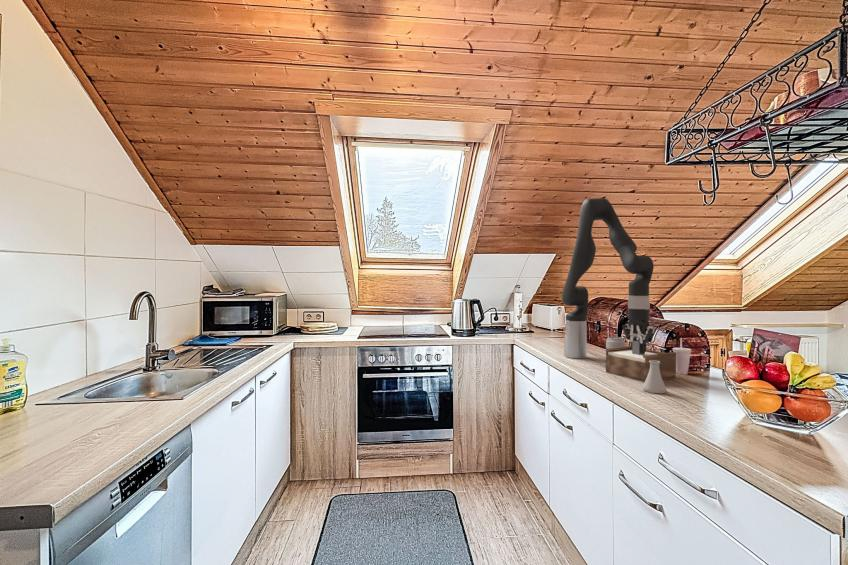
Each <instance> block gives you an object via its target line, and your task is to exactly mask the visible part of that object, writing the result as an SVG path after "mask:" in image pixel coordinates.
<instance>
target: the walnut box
mask: <svg viewBox="0 0 848 565" xmlns="http://www.w3.org/2000/svg"><path fill="white" fill-rule="evenodd" d="M630 349H631V345H625V347H615V348H606V347H605V372H606V373H608V374H611V375H615V376H620V377H622V378H626V379H631V380H635V381H638V382H642V383H645V381H646V378H647V376H648V373H649V369H650V362H649V361H651V360H654V361H660V364H659V369H660V374H661V377H662V380H663V381H666V380H672V378H673V379H676V378H677V373H676V353H675V352H674V351H673V352H672V351H671V352H663V351H656V350H651V349H646V352H650V353H655V354H653V355H644V356H643V358H645V363H644V362H640V361H635V360H630V359H626V358H621V357H616V356H612V355H608V352H610V351H620V350H630ZM665 379H666V380H665Z"/></svg>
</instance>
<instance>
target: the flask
mask: <svg viewBox="0 0 848 565" xmlns="http://www.w3.org/2000/svg"><path fill="white" fill-rule="evenodd" d="M649 362H650V369H649V373H648V376H647V378H646V381H645V382H643V385H642V387H641V388H642V390H643V391H645V392H647V393H651V394H666V393H668V391H667V388H666V386H665V382H664V380H662V377H661V374H660V369H659V364H660V361H654V360H651V361H649Z"/></svg>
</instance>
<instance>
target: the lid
mask: <svg viewBox="0 0 848 565" xmlns="http://www.w3.org/2000/svg"><path fill="white" fill-rule="evenodd" d="M653 354H655V353H650V352H645V353H640V339H637V340H635V341H632V350H631V349H630V350H620V351H610V352H608V355H612V356H616V357H621V358H626V359H630V360H635V361H640V362H644V363H645V358H643V356H644V355H653Z"/></svg>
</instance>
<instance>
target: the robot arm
mask: <svg viewBox="0 0 848 565" xmlns="http://www.w3.org/2000/svg"><path fill="white" fill-rule="evenodd" d="M601 220H602V222H604V223H605V225H607V226H606V227H607V228H608V238H609V242H610V244H611V246H613V249H615V251H616V252H617V253H618V255H619V258H620V261H621V264H622V266H623V268H624V269H625V270H626V272H627V273H629V274H633V275H635V278H634V279H633V280H630V281H629V282H628V297H627V319H628V322H627V323H626V324H622V330H623V333H624V336H625V339H626V340H628V341H630V346H631V350H632V341H635V340H638V338H639V340H640V353H645V352H646V350H647V343H648V344H649V343H652V341H653V338H654V336H655V335H656V334H655V333H656V332H657V328H656V327H652V326H650V325H651V324H650V322H649V321H650V320H651V319H650V318H651V317H650V316H651V312H650V311H651V309H650V306H651V301H650V300H651V299H650V284H651V279H652V277H653V273H654V267H655V266H654V261H653V260H652V258H651V257H650V256H648V255H641V254H640V255H638V254H636V252H637V251H638V250H637V249H638V246H637V244H636V242H635V241H634V240H633V238H632V237H631V236H630V235H629V234H628V232H627V231H626V229H625V228H624V226H623V224H622V223H621V220H620V219H619V216H618V214H617V212H616V210H615V209H614V207H613V204H612V203H611V202H610V201H609V200H608V199H607V198H604V197H593V198H586V199H584V201H583V202H582V205H581V206H580V213H579V220H578V227H577V228H578V229H577V235H576V240H575V243H574V248H573V252H572V257H571V262H570V266H569V270H568V273H567V277H566V280H565V283H564V285H563V290H562V294H561V300H562V303H563V305H564V306H566V307H567V306H568V307H575V309H574V310H573V311H571V312H568V313H566V315H565V335H564V336H563V338H564V344H563V347H564V349H563V354H564V356H565V357H567V358H571V359H587V349H588V348H587V342H588V341H587V338H588V337H587V331H588V330H587V329H588V328H587V317H588V314H589V313H588V312H589V291H588V289H587V287H585V286H583V285H582V286H580V285H579V286H578V285H577V284H578V282H579V280H580V279H581V278H582V277H583V275H584V274H586V273H587V272H588V271H589V269H590V268H592V266H593V264H594V260H595V257H596V256H595V255H596V252H597V247H596V242H595V240H594V238H593V235H592V234H593V233H592V230H593V225H594V222H595V221H601Z"/></svg>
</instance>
